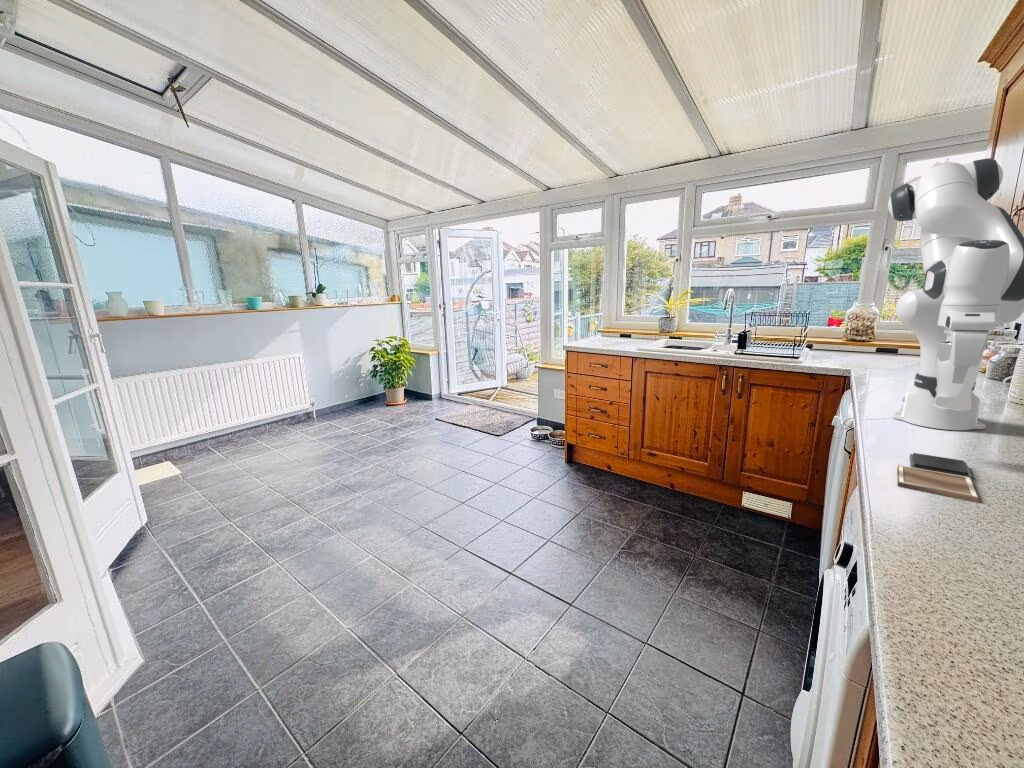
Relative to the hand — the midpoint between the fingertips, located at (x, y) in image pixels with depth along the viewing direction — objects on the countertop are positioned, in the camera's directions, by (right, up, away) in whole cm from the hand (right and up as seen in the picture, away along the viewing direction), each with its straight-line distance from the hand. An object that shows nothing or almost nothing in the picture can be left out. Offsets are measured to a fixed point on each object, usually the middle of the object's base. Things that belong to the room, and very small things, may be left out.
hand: (955, 379), depth 93 cm
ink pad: (-6, -20, -2) cm, 21 cm away
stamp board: (-14, -22, -9) cm, 27 cm away
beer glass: (+1, -6, +1) cm, 7 cm away
